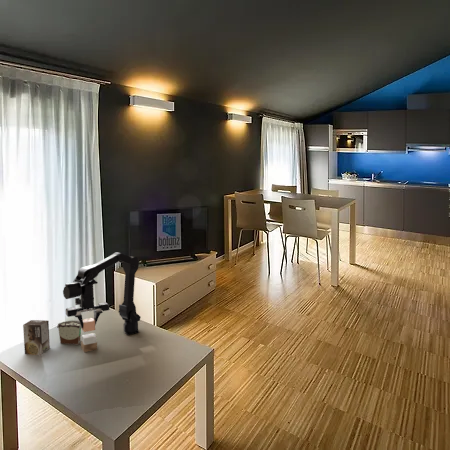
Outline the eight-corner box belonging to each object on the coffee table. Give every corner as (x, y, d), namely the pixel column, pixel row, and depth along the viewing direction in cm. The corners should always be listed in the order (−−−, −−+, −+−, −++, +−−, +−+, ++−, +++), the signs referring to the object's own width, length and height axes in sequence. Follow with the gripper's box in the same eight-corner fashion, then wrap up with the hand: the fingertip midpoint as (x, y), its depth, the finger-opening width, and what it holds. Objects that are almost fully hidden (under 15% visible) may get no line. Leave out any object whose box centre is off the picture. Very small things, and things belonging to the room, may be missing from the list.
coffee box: (50, 353, 178) (49, 320, 177) (42, 359, 172) (41, 325, 171) (32, 352, 179) (31, 319, 178) (24, 358, 173) (22, 324, 172)
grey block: (94, 338, 180) (93, 332, 180) (96, 342, 176) (96, 336, 175) (82, 341, 178) (81, 335, 177) (84, 345, 173) (84, 338, 173)
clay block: (92, 327, 180) (92, 317, 179) (95, 330, 175) (94, 320, 175) (81, 328, 177) (81, 319, 177) (84, 332, 173) (83, 322, 173)
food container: (87, 340, 188) (87, 320, 187) (81, 344, 182) (80, 324, 181) (64, 339, 189) (63, 319, 188) (57, 343, 183) (56, 323, 182)
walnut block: (94, 345, 181) (94, 338, 181) (97, 349, 176) (97, 342, 176) (81, 348, 178) (81, 341, 178) (83, 352, 173) (83, 345, 173)
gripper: (103, 288, 187) (104, 318, 188) (63, 293, 177) (64, 325, 178) (109, 292, 177) (110, 325, 178) (67, 298, 168) (68, 332, 169)
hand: (88, 327), depth 176 cm, fingers closed on clay block, 5 cm apart
